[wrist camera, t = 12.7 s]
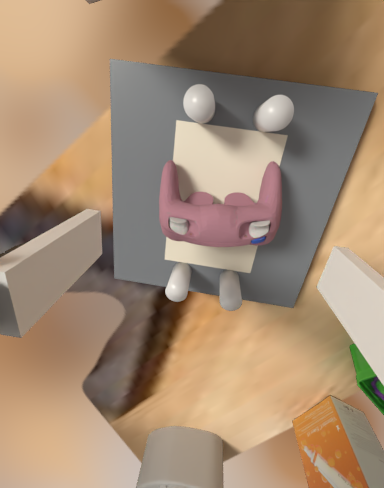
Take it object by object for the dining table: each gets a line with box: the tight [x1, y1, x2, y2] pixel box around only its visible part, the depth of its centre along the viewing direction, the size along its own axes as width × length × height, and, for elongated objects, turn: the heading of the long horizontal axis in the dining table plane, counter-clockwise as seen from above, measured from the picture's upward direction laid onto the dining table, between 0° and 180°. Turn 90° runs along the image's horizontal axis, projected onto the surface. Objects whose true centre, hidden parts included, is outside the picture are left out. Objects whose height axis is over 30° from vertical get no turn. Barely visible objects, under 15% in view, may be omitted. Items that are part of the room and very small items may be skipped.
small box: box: [292, 396, 384, 488], centre depth 28 cm, size 8×6×13 cm
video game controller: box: [159, 160, 282, 247], centre depth 19 cm, size 10×5×7 cm, turn 90°
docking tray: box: [110, 59, 378, 311], centre depth 20 cm, size 20×20×5 cm
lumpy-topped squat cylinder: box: [136, 426, 223, 488], centre depth 37 cm, size 10×13×9 cm
